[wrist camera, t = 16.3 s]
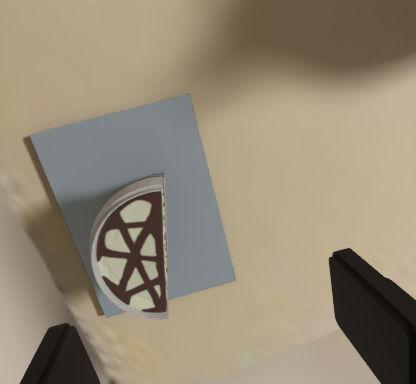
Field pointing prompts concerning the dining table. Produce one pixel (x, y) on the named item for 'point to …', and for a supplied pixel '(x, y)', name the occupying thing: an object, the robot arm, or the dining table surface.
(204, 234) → the slate mat
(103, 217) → the food container
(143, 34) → the dining table surface
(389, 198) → the dining table surface
